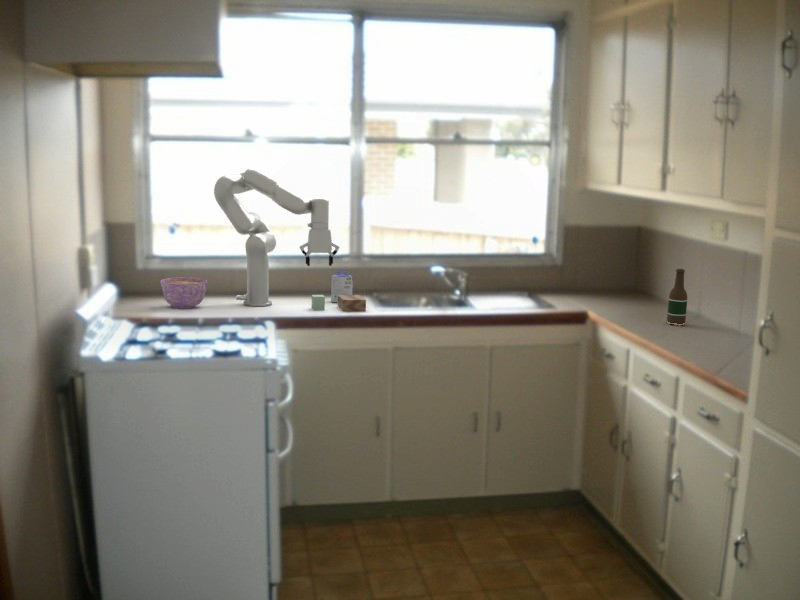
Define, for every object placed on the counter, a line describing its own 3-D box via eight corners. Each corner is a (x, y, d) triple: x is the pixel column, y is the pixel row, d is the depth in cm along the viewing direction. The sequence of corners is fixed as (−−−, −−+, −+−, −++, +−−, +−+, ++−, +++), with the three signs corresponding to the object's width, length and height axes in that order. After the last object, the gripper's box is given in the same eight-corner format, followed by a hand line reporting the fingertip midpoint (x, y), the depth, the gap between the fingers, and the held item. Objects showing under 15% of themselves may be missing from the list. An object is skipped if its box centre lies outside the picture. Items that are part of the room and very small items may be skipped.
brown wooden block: (343, 311, 393) (343, 300, 392) (337, 306, 405) (338, 295, 404) (365, 311, 395) (366, 299, 394) (359, 306, 407) (359, 295, 407)
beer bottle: (688, 326, 386) (693, 270, 382) (673, 326, 384) (677, 270, 380) (678, 322, 394) (683, 267, 390) (662, 322, 391) (667, 268, 387)
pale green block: (313, 310, 393) (313, 296, 392) (311, 308, 398) (311, 294, 397) (324, 310, 395) (324, 296, 394) (322, 308, 399) (322, 294, 398)
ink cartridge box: (352, 300, 421) (352, 270, 418) (352, 302, 415) (353, 271, 413) (330, 300, 420) (331, 269, 417) (330, 302, 414) (331, 271, 412)
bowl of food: (217, 307, 391) (217, 281, 389) (177, 313, 376) (177, 285, 374) (190, 301, 404) (190, 276, 402) (151, 306, 389) (150, 279, 388)
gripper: (301, 227, 385) (300, 266, 387) (341, 227, 389) (340, 266, 392) (298, 225, 392) (298, 264, 395) (337, 225, 396) (337, 264, 399)
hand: (319, 265), depth 393 cm, fingers open, 9 cm apart
